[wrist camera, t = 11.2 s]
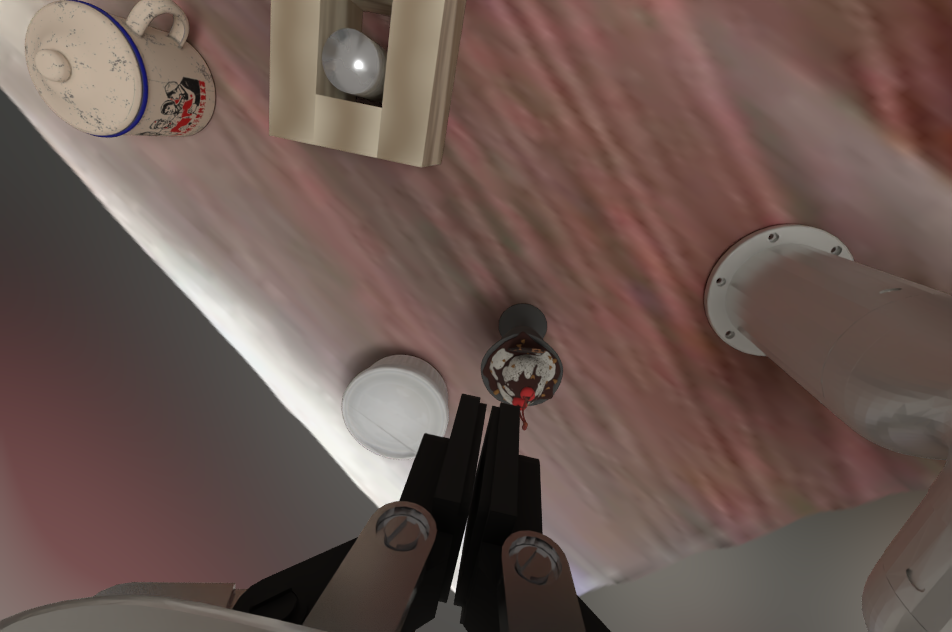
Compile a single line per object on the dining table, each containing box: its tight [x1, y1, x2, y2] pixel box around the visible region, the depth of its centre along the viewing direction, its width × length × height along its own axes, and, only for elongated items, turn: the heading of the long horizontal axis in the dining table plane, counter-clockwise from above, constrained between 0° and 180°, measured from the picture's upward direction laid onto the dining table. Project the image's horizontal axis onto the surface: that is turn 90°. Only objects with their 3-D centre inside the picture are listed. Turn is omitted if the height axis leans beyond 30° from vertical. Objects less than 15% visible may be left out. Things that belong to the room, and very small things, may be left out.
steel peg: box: [322, 28, 388, 103], centre depth 34 cm, size 4×4×8 cm
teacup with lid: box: [25, 0, 215, 137], centre depth 35 cm, size 12×9×12 cm
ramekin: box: [342, 355, 449, 460], centre depth 47 cm, size 11×11×5 cm
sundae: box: [481, 304, 563, 430], centre depth 38 cm, size 7×7×15 cm
